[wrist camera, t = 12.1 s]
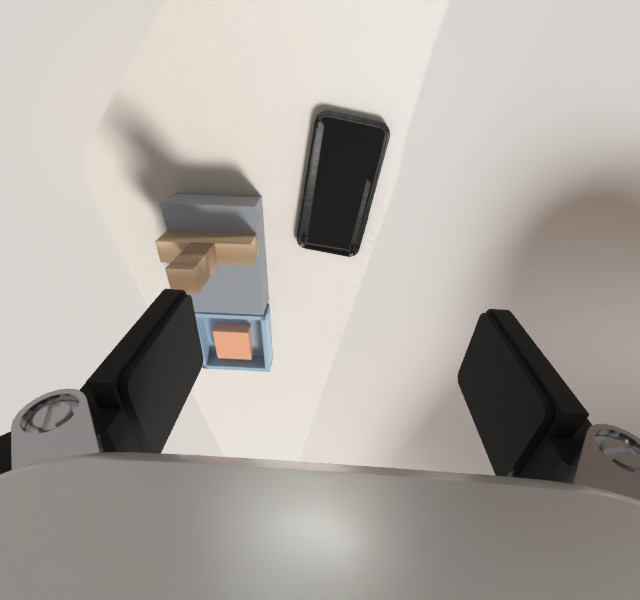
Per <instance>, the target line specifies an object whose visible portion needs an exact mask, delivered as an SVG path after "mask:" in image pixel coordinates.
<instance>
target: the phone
mask: <svg viewBox="0 0 640 600" xmlns="http://www.w3.org/2000/svg"><path fill="white" fill-rule="evenodd" d="M389 138H390V131H389V128H388V127H387V126H386V125H385V124H384V123H382V122H378V121H373V120H369V119H364V118H359V117H355V116H350V115H346V114H341V113H336V112H332V111H323V112H321V113H320V114H319V115H318V116H317V118H316V120H315V125H314V132H313V138H312V144H311V151H310V157H309V163H308V170H307V176H306V182H305V189H304V195H303V201H302V208H301V214H300V220H299V227H298V233H297V243H298V244H299V246H301V247H302V248H306V249H311V250H316V251H321V252H327V253H332V254H337V255H342V256H347V257H351V256H354V255H356V254H357V253H358V251H359V248H360V245H361V241H362V237H363V234H364V231H365V227H366V224H367V220H368V215H369V211H370V208H371V204H372V200H373V197H374V193H375V189H376V186H377V182H378V178H379V175H380V171H381V167H382V164H383V160H384V156H385V153H386V149H387V145H388V141H389Z"/></svg>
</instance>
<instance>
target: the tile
mask: <svg viewBox="0 0 640 600" xmlns="http://www.w3.org/2000/svg"><path fill="white" fill-rule="evenodd" d="M213 336H214V341H215V346H216V352H217V357H218V358H225V359H246V360H251V359H252V356H253V353H254V344H253V335H252V326H251V324H231V323H217V324H216V326H215V328H214V330H213Z"/></svg>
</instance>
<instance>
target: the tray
mask: <svg viewBox="0 0 640 600" xmlns="http://www.w3.org/2000/svg"><path fill="white" fill-rule="evenodd" d="M195 316H196V321H197V327H198V332H199V337H200V342H201V347H202V352H203V365H202V366H203V368H206V369H226V370H246V371H266V372H270V368H271V364H272V359H273V353H272V338H271V324H270V310H269V304H267V305H266V308H265V311H264V314H263V315H252V314H230V313H209V312H195ZM217 323H231V324H251V326H252V335H253V344H254V353H253V356H252V359H251V360H246V359H225V358H218V357H217V352H216V346H215V341H214V336H213V330H214V328H215V326H216V324H217Z"/></svg>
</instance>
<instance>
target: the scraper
mask: <svg viewBox="0 0 640 600" xmlns="http://www.w3.org/2000/svg"><path fill="white" fill-rule="evenodd" d="M155 242H156V246H157V250H158V254H159V257H160V261H161V262H168V263H170V264H169V265H168V266H167V267H166V268H165V269H166V273H167V276H168V280H169V284H170V288H171V289H178V290H184V291H185V292H186V293H194V294H199V292H200V291H201V289H202V288H203V286H204V285H205V283H206V282H207V280H208V279H209V277H210V276H211V274H212V273H213V272H214V270H215V269H216V267H217V266H218V264H225V265H253V264H254V262H255V260H256V258H257V256H258V244H257V234H244V233H214V232H183V231H167V232H166V233H165V234H164V235H162V236H161V237H160V238H159V239H158V240H156V241H155Z"/></svg>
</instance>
